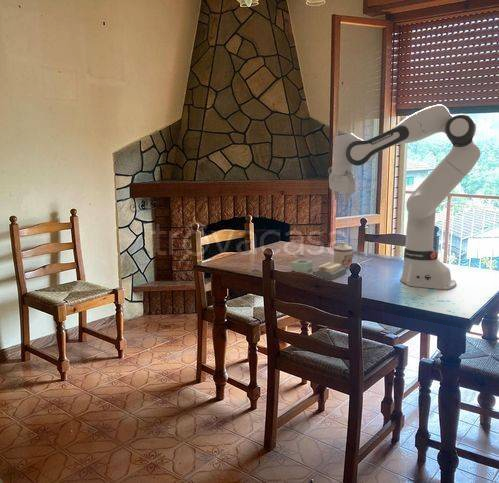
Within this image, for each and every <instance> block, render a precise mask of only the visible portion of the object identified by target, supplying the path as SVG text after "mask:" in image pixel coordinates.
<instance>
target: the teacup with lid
mask: <svg viewBox="0 0 499 483" xmlns="http://www.w3.org/2000/svg"><path fill="white" fill-rule="evenodd" d="M354 255H355V252H354V249H353V247H352V246H349V245H348V244H346V242H344V241H343V242H342V241H341V243H340V244H338V245H336V246H334V248H333V263H337V264H341V268H346V269H350V268H349V266H350V265H351V264H352V265H353V258H354Z"/></svg>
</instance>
